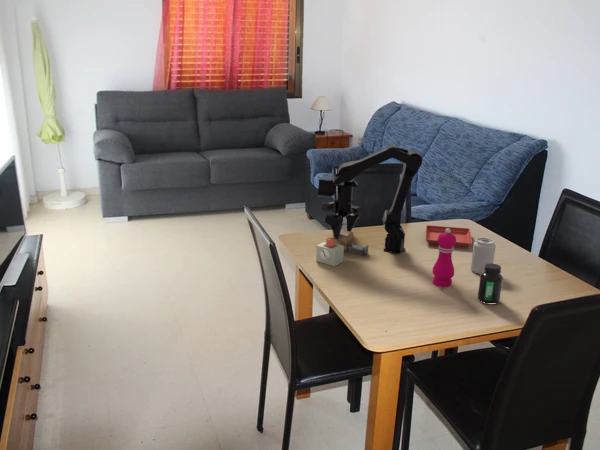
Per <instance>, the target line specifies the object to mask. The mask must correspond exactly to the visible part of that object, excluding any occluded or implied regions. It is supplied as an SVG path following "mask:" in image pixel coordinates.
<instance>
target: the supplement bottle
mask: <svg viewBox="0 0 600 450" xmlns="http://www.w3.org/2000/svg"><path fill="white" fill-rule="evenodd" d="M501 270H502V266H501V265H499V264H497V263H494V262H493V263H488V264H486V265H485V269H484V272H483V273H482V274H480V277H479V282H478V283H479V284H478V290H477V291H478V292H477V300H478V299H479V300H480V301H482V302H485V303H498V302H499V303H500V300H501V294H502V287H503V283H504V282H503V280H504V277H503V275H502V274H501V272H502V271H501ZM479 300H478V301H479ZM480 301H479V302H480ZM482 302H481V303H482ZM499 303H498V304H499Z"/></svg>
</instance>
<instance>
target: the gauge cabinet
mask: <svg viewBox="0 0 600 450" xmlns="http://www.w3.org/2000/svg"><path fill="white" fill-rule="evenodd" d="M344 252H345V251H344V246H342V245H339V244H335V247H334V248H328V247H326V240H325V241H323V242H321V243H319V244H317V245H316V253H315V257H316V258H315V260H316V262H319V263H323V264H327V265H329V266H333V267H335V266H337V265H339V264H340V263H342V262H343V261H344Z"/></svg>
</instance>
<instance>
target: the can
mask: <svg viewBox="0 0 600 450" xmlns="http://www.w3.org/2000/svg"><path fill="white" fill-rule="evenodd" d="M472 247H473V248H472V254H471V262H470V270H472V272H473V271H474V272H473V273H475V272H476V273H475V274H477V273H479V274H478V275H481V274H482V273H483V272H484V269H485V265H486V264H488V263H493V264H494V260H495V256H496V255H495V253H496V244H495V241H494V239H492V238H489V237H477V238H476V239H475V241H474V242H473V246H472Z"/></svg>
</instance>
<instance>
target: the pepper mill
mask: <svg viewBox="0 0 600 450" xmlns="http://www.w3.org/2000/svg"><path fill="white" fill-rule="evenodd" d="M450 232H451V230H450V229H449V228H447V229H446V230H445V232H443V233H441V234H440V235H439V236H438V243H439V246H438V245H437V246H438V248H437V249H438V251H439V252H438V256H437V260H436V261H435V263H434V265H433V267H432V272H431V273H432V275H433V277H432V284H433V285H434V286H436V287H439V288H450V287H452V284H453V280H452V278H453V277H454V276H455V268H454V263H453V261H452V254H453V252H454V249H455V247H453V246H454V245H455V244H456V237H455V235H454V234H452V233H450Z"/></svg>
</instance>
